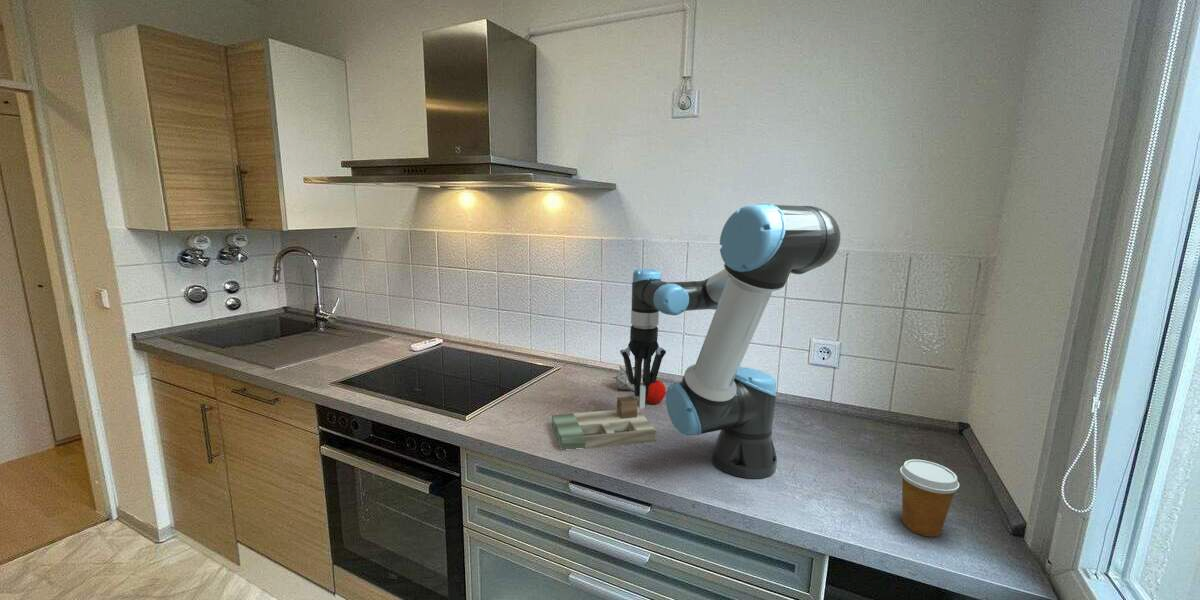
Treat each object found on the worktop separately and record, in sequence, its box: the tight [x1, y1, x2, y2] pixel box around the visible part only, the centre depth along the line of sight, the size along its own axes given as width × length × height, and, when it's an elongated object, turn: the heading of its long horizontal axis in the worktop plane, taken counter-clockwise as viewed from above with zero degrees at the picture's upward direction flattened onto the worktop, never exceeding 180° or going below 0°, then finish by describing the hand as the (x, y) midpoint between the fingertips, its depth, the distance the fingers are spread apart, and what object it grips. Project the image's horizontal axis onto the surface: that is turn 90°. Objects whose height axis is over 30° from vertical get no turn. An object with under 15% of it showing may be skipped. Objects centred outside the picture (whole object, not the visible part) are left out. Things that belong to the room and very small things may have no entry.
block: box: [616, 395, 638, 419], centre depth 137 cm, size 4×4×4 cm
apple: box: [645, 379, 667, 405], centre depth 154 cm, size 8×8×7 cm
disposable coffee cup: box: [899, 459, 960, 538], centre depth 95 cm, size 10×10×12 cm
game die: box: [613, 365, 635, 393], centre depth 164 cm, size 9×8×10 cm
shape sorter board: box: [551, 408, 657, 451], centre depth 132 cm, size 15×25×3 cm, turn 105°
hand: (640, 406), depth 138 cm, fingers closed
